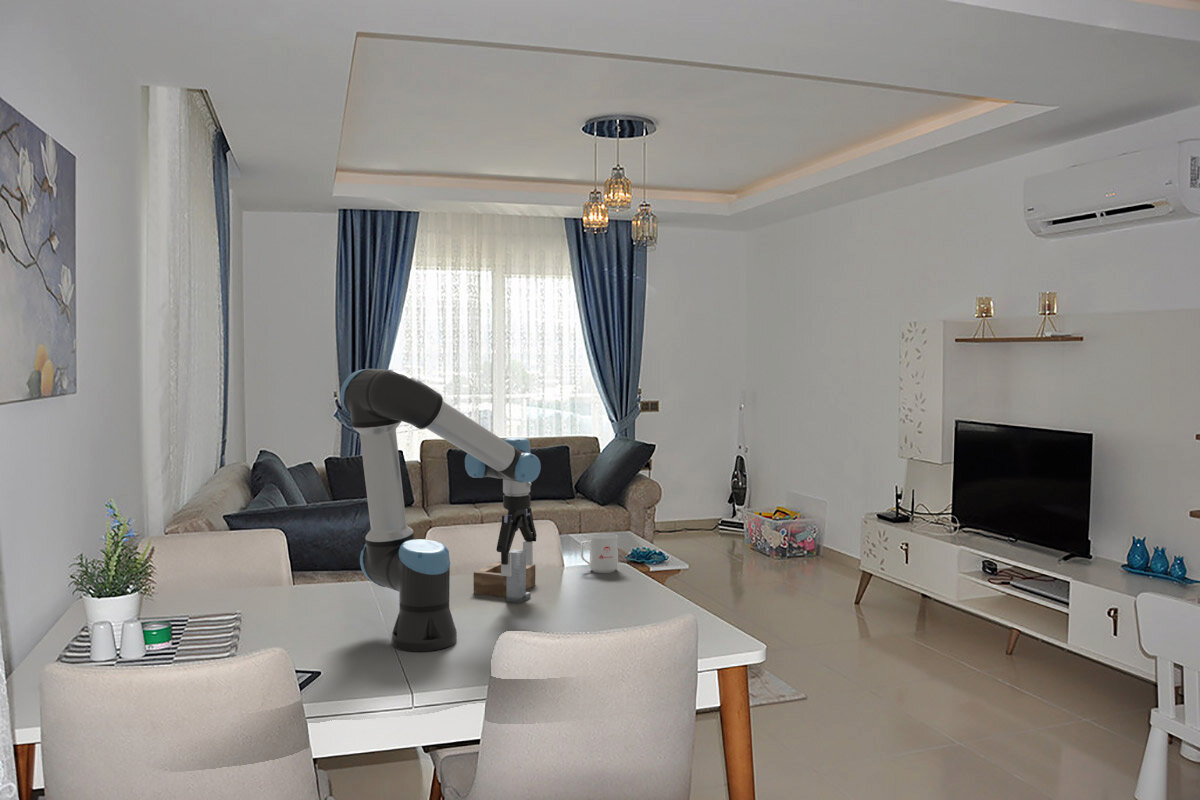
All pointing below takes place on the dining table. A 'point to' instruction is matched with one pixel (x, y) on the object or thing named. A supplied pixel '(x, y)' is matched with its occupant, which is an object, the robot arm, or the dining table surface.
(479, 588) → the box
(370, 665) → the dining table surface
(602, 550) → the mug
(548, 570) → the dining table surface
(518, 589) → the bracket
